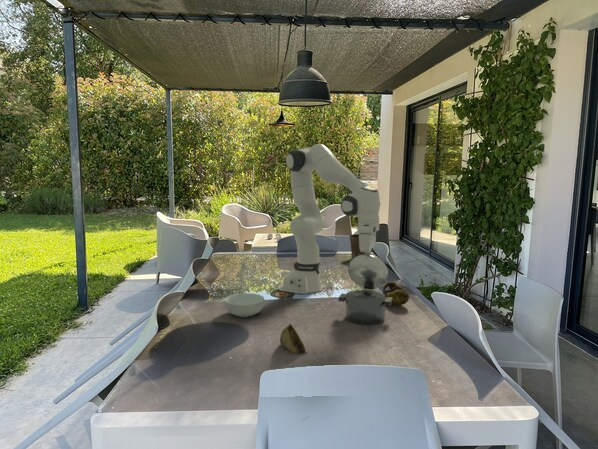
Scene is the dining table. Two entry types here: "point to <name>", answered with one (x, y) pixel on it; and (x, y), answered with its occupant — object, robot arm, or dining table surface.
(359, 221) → the robot arm
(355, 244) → the plant pot
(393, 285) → the pottery mug
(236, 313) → the cereal bowl
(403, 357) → the dining table surface
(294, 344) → the rock
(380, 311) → the pot
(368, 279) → the lid
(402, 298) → the potato
